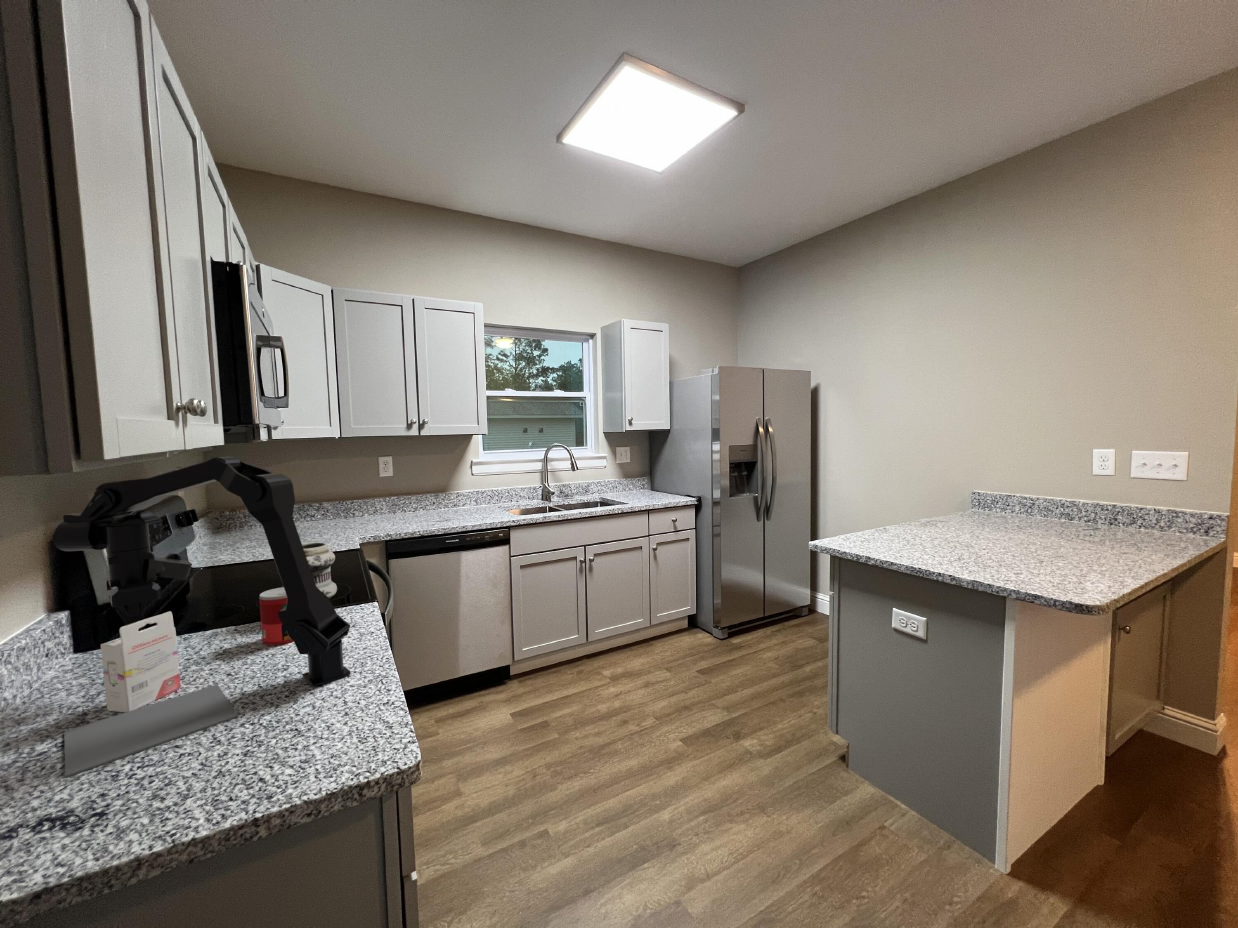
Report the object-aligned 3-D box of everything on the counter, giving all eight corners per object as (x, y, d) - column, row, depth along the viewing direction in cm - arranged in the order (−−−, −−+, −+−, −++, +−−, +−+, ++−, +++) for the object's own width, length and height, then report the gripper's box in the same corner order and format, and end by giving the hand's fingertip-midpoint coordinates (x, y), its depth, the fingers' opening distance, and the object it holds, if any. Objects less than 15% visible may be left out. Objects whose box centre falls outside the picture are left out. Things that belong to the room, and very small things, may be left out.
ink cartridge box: (160, 686, 93) (154, 608, 92) (181, 688, 92) (175, 610, 91) (104, 711, 85) (97, 626, 84) (127, 714, 84) (119, 628, 83)
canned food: (289, 645, 110) (285, 596, 109) (253, 646, 110) (249, 597, 110) (311, 631, 118) (308, 586, 117) (277, 632, 118) (274, 586, 117)
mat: (238, 716, 82) (237, 714, 82) (65, 777, 68) (65, 775, 68) (217, 685, 93) (217, 684, 93) (64, 732, 78) (64, 731, 78)
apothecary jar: (330, 618, 127) (326, 548, 125) (276, 624, 123) (271, 552, 122) (343, 603, 138) (339, 538, 137) (294, 608, 135) (289, 542, 134)
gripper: (194, 547, 92) (201, 630, 93) (178, 535, 104) (184, 608, 105) (108, 559, 84) (116, 650, 84) (101, 545, 96) (109, 624, 97)
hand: (136, 631), depth 93 cm, fingers closed
